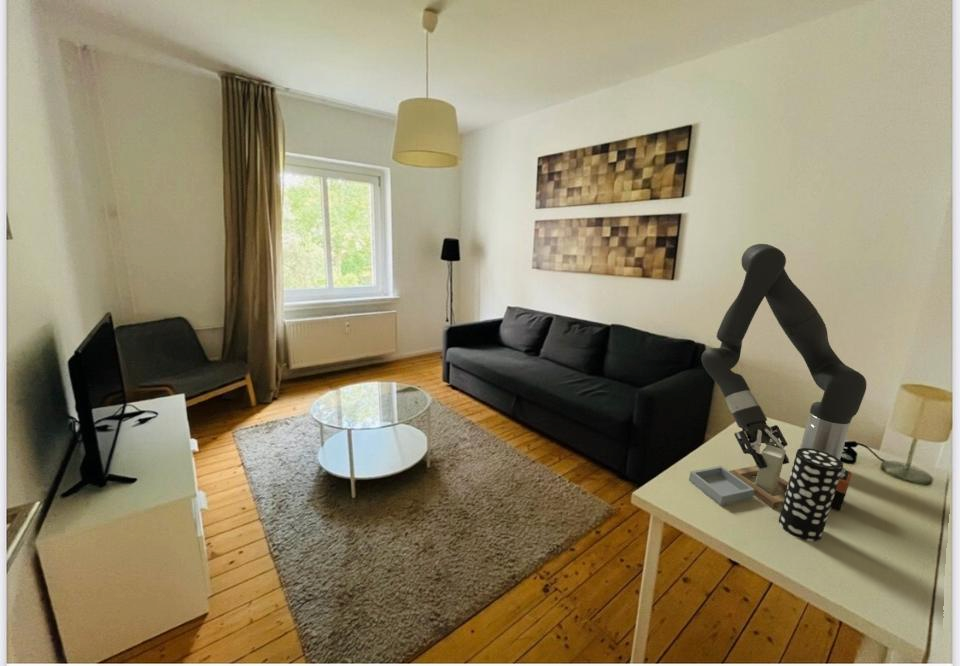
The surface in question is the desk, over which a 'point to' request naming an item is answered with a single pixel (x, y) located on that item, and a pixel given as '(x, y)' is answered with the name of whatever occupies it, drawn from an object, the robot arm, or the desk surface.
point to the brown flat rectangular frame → (760, 493)
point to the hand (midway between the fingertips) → (774, 465)
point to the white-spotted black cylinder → (810, 493)
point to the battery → (841, 490)
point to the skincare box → (770, 469)
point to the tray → (721, 485)
